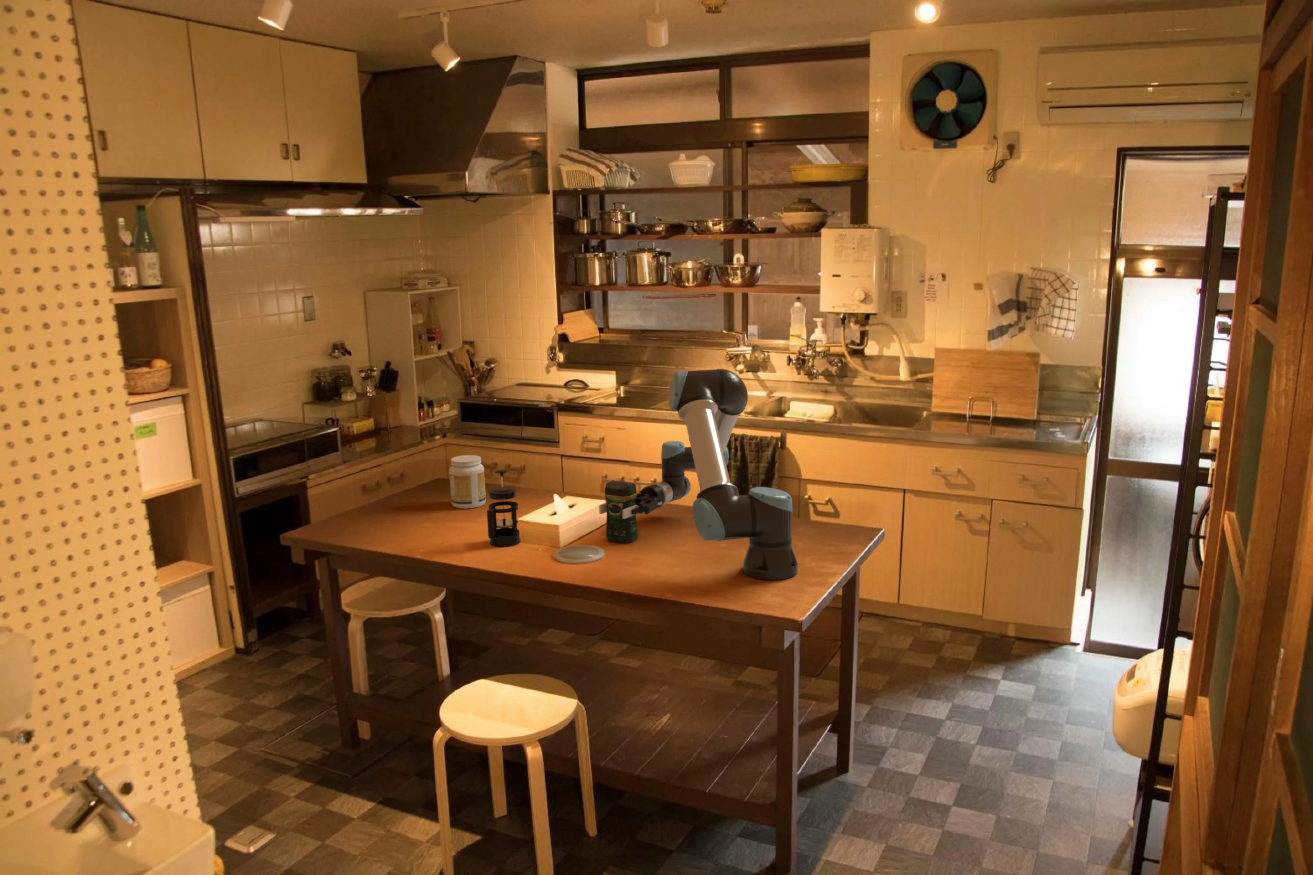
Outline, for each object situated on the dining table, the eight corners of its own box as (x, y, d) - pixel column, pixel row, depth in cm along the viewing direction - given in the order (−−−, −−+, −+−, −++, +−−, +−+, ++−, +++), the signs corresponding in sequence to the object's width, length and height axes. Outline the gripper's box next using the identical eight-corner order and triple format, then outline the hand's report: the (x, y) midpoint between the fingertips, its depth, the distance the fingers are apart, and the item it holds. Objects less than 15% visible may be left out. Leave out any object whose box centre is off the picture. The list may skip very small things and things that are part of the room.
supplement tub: (475, 498, 346) (473, 452, 342) (492, 504, 336) (490, 458, 333) (445, 504, 338) (442, 458, 335) (461, 511, 329) (458, 463, 325)
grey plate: (610, 560, 276) (610, 557, 276) (559, 566, 272) (559, 563, 271) (597, 545, 290) (597, 542, 290) (548, 550, 286) (548, 547, 285)
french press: (505, 535, 301) (502, 464, 297) (528, 540, 296) (524, 468, 291) (479, 545, 292) (475, 472, 287) (502, 550, 287) (498, 476, 282)
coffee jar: (642, 538, 296) (640, 480, 292) (628, 545, 289) (627, 486, 285) (615, 533, 301) (614, 477, 297) (602, 541, 294) (600, 482, 290)
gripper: (683, 511, 302) (639, 529, 284) (630, 501, 314) (585, 518, 296) (682, 488, 300) (639, 505, 282) (629, 479, 312) (584, 495, 295)
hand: (611, 512), depth 289 cm, fingers closed on coffee jar, 8 cm apart
